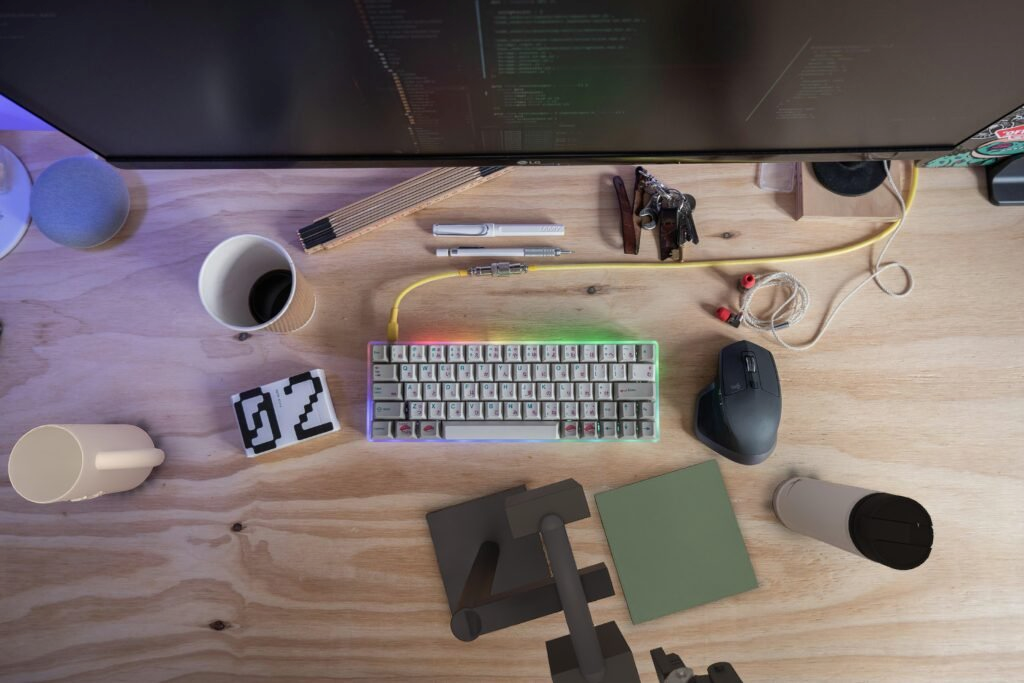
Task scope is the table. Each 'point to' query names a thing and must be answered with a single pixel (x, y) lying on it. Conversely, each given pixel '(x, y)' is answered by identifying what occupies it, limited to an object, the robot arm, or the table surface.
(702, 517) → the desk mat
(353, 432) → the table surface
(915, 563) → the travel mug
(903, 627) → the table surface
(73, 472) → the mug
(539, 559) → the stand
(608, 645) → the square-ended dumbbell
